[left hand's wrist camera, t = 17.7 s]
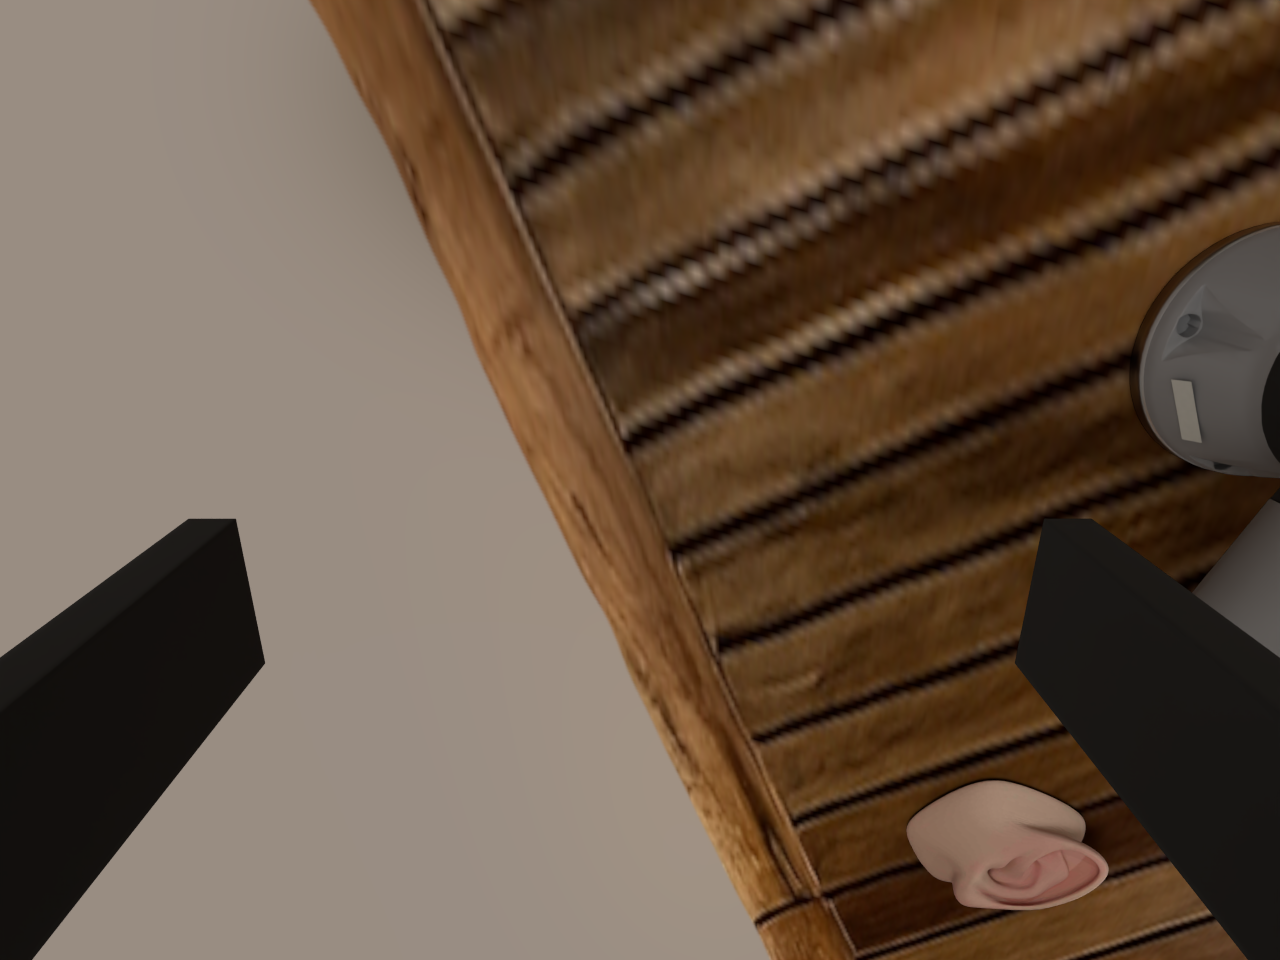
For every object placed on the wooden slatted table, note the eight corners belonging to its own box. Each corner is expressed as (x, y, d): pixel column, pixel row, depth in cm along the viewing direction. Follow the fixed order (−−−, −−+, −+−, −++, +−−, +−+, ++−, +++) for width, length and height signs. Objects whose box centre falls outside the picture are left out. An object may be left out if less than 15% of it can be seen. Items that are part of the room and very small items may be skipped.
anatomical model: (897, 886, 58) (1006, 788, 55) (881, 844, 62) (982, 750, 59) (1022, 958, 61) (1133, 869, 58) (1000, 914, 65) (1103, 827, 61)
